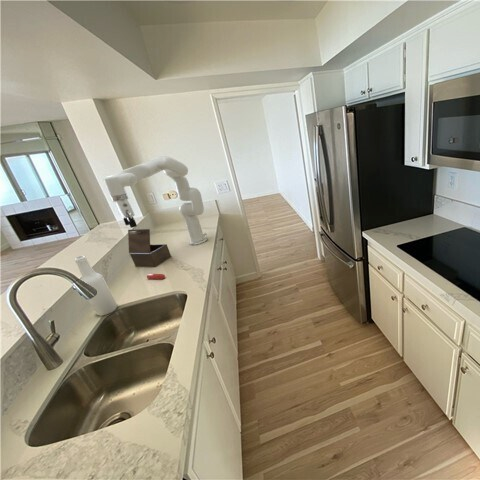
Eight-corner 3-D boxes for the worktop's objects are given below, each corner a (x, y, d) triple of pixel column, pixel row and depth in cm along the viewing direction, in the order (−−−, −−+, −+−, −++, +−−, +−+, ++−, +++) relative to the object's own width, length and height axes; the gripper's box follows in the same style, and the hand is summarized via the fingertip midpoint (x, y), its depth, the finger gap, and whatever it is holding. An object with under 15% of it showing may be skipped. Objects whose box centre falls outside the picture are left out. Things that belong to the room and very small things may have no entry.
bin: (152, 256, 191) (147, 244, 187) (171, 256, 187) (166, 244, 183) (135, 266, 178) (129, 253, 174) (155, 266, 174) (150, 253, 170)
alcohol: (104, 306, 136) (77, 254, 124) (121, 303, 137) (96, 252, 125) (92, 317, 128) (61, 263, 116) (110, 314, 128) (82, 260, 117)
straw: (146, 279, 159) (144, 275, 157) (150, 277, 161) (148, 272, 160) (163, 280, 156) (161, 275, 155) (166, 277, 158) (165, 273, 157)
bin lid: (129, 229, 174) (121, 229, 169) (149, 229, 170) (142, 229, 165) (130, 253, 174) (122, 253, 170) (150, 253, 170) (143, 253, 166)
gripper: (131, 197, 148) (143, 225, 154) (123, 195, 159) (134, 221, 165) (116, 200, 143) (128, 230, 149) (108, 198, 154) (120, 225, 160)
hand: (131, 225), depth 157 cm, fingers open, 9 cm apart
